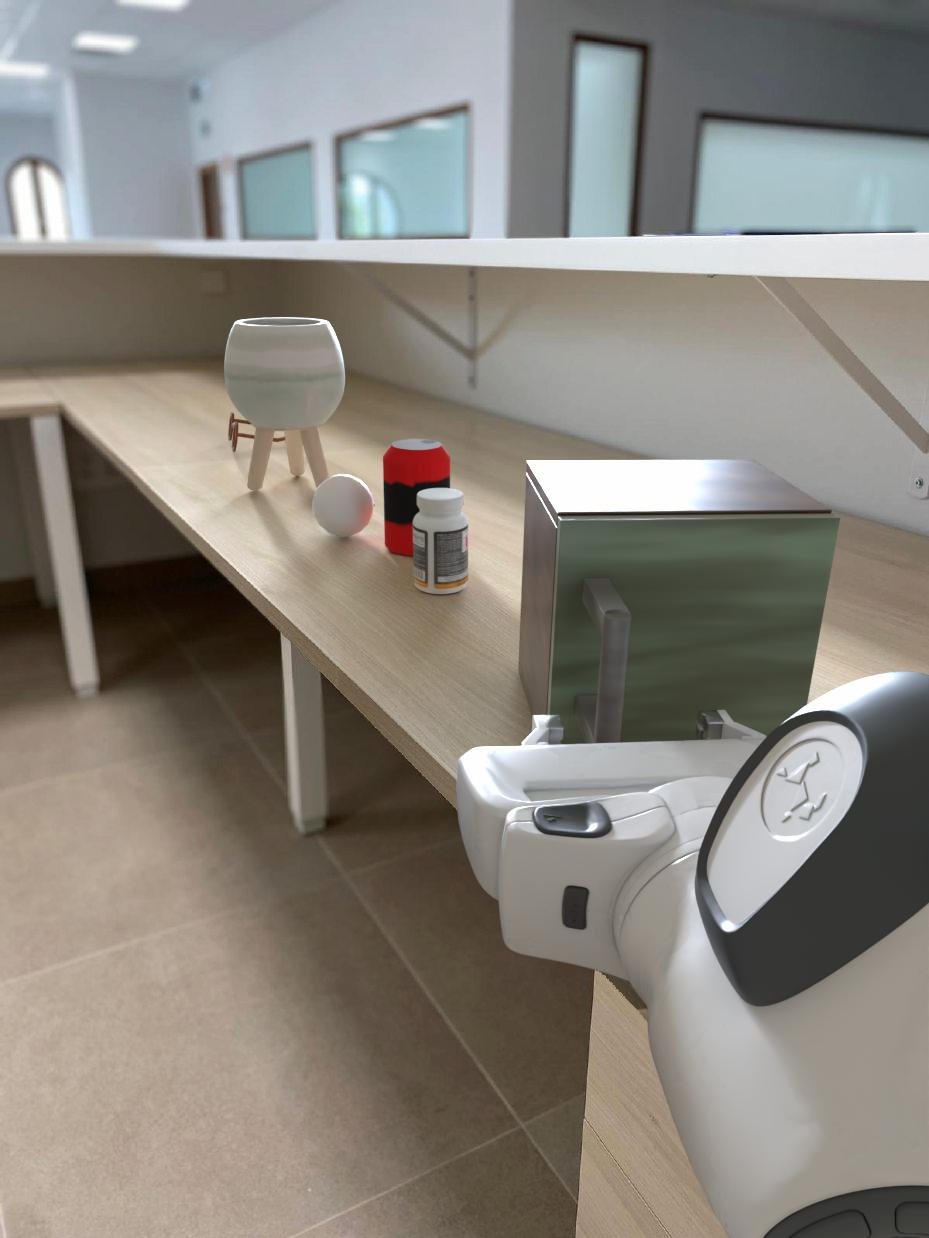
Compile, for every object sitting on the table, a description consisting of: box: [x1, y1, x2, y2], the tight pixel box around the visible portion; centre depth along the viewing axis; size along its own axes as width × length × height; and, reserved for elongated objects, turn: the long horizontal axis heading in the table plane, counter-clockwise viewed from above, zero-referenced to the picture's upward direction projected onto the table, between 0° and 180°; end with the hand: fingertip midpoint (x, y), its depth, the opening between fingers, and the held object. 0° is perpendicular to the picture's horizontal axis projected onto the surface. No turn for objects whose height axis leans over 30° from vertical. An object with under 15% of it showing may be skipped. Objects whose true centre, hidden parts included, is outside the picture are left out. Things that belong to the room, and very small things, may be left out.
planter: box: [223, 316, 346, 492], centre depth 128 cm, size 16×16×22 cm
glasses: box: [227, 411, 285, 453], centre depth 155 cm, size 13×13×5 cm
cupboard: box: [517, 459, 833, 719], centre depth 69 cm, size 14×18×18 cm
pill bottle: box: [412, 487, 469, 595], centre depth 94 cm, size 6×6×10 cm
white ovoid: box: [311, 473, 376, 537], centre depth 112 cm, size 10×7×7 cm
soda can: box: [382, 438, 451, 557], centre depth 106 cm, size 8×8×12 cm
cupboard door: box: [547, 512, 841, 744], centre depth 59 cm, size 8×18×18 cm, turn 94°
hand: (627, 723), depth 52 cm, fingers open, 8 cm apart
